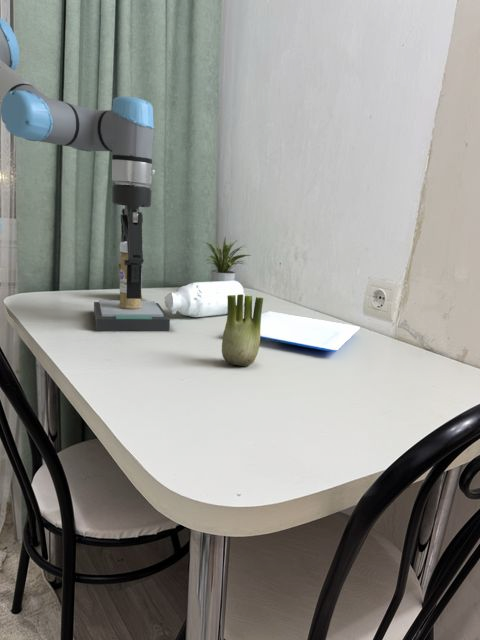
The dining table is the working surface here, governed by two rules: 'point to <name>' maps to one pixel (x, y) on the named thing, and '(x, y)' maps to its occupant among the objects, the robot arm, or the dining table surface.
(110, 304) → the scale
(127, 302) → the sprinkles bottle
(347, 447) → the dining table surface
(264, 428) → the dining table surface
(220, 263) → the house plant
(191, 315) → the white bottle
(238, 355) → the fennel bulb
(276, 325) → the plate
